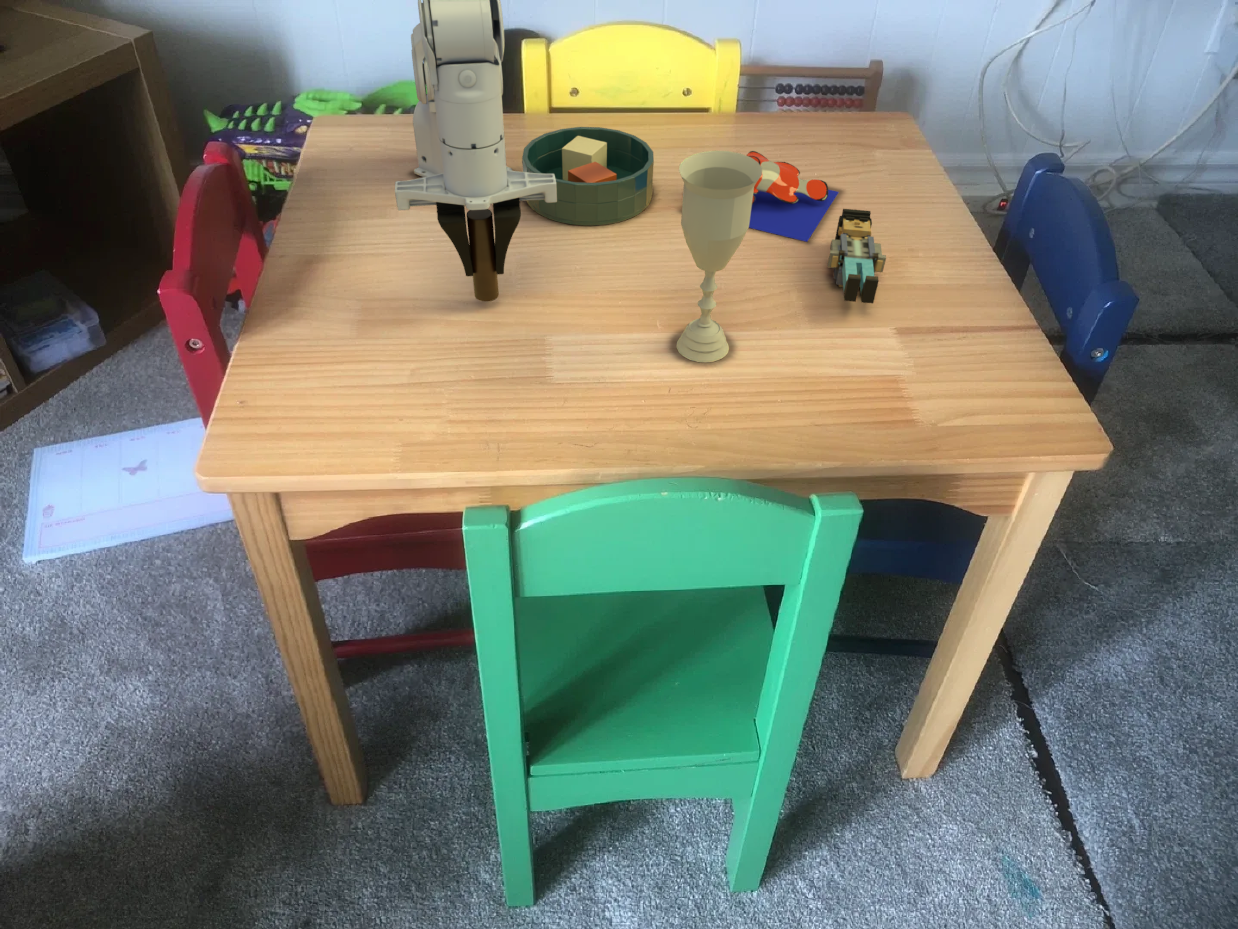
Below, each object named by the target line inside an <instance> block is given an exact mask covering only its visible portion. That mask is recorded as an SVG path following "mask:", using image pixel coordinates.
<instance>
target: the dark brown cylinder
mask: <svg viewBox="0 0 1238 929" xmlns="http://www.w3.org/2000/svg"><path fill="white" fill-rule="evenodd" d="M465 217H466V227H467V235H468V240H469V245H470V254H471V261H472V269H473V276H472V282H473V283H472V284H473V291H474V297H475V299H476V300H477V301H479V302H486V303H487V302H492V301H495V300H497V299H498V298H499V296H500V291H499V278H498V275H497V272H496V253H495V228H494V216H493V211H492V210H491V209H490V208H488V209H485V210H468V211H467V212H466V213H465Z"/></svg>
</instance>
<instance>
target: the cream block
mask: <svg viewBox="0 0 1238 929" xmlns="http://www.w3.org/2000/svg"><path fill="white" fill-rule="evenodd" d="M592 162H597V163H599V164H600V165H602V166H604V167H605V168H607V143H606V142H602V141H598V140H594V139H590V138H585V137H581V136H577V137H576V138H574V139H573V140H572V141H571V142H569V143H568V144H567V145H566V146H564V147H563V148H562V169H563V180H566V181H568V170H571V169H574V168H577V167H580V166H583V165H586V164H589V163H592Z"/></svg>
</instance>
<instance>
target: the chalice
mask: <svg viewBox="0 0 1238 929" xmlns="http://www.w3.org/2000/svg"><path fill="white" fill-rule="evenodd" d="M746 155H747V154H743V153H741V152H735V151H730V150H707V151H700V152H697V153H694V154H691V155H690V156H687V157H686V158H684V159H683V160H682V161H681V163H679V167H678V173H679V174H680V177H681V179H682V182H683V191H682V204H681V218H680V220H681V221H680V225H681V228H682V232H683V236H684V239H685V243H686V245H687V247H688V250H689V252H690V255H691V256H692V258H693V261H694V263H695V266H696V267H697V268H698V269H699V270H701V271H703V272H704V277H703V281H702V282H701V283H700V285H699V288H700V289H701V291H702V297H701V298H700V299H699V300H698V301H697V307H699V308H700V317H699V318H696V319H693V320H691V321H690V322H689V323H688V324H686V326H685V328H684V330H683V331H682V333H681V334H680V337H679V338H678V340H677V341H676V349H677V351H678V353H679V354H680V355H681V356H682V357H683V358H685V359H688V360H690V361H692V362H697V363H714V362H716V361H720V360H722V359H723V358H724V357H726V356H727V355H728V353H729V351H730V350H729V349H730V346H729V343H728V342H727V337H726V335H725V333H724V332H725V331H724V329H723V327H722V326H721V325H720V324H719V322H717V321H716V320H713V318H712V316H711V314H712V312H713V309H715V308H716V307H717V302H716V301H715V300H714V293H715V291H716V290H717V289H718V284H717V283H716V277H715V275H716V273H717V272H720V271H722V270H724V269H725V268H726V267H727V265H728V264H729V263H730V261H731V259H732V258H733V256H734V255H735V253H736V251H738V249H739V248H740V246H741V244H742V242H743V240H744V239H745V238H744V237H745V236H746V234H747V232H748V230H749V229H750V228H749V222H750V215H751V207H752V199H753V191H754V186H755V184H756V183H757V181H758V180H759V178H760V177H761V175H762V168H761V166H760V165H759V163H758V162H757V161H755V160H754V159H752V158H751V157H749V156H746Z"/></svg>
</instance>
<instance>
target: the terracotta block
mask: <svg viewBox="0 0 1238 929" xmlns="http://www.w3.org/2000/svg"><path fill="white" fill-rule="evenodd" d="M616 179H617V174H616V173H614V172H612V171H611V170H609V169H607V168H605V167H604V166H602V165H600V164H599V163H597V162H592V163H589V164H586V165H583V166H580V167H577V168H574V169H571V170H568V181H571V182H581V183H599V182H606V181H614V180H616Z"/></svg>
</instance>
